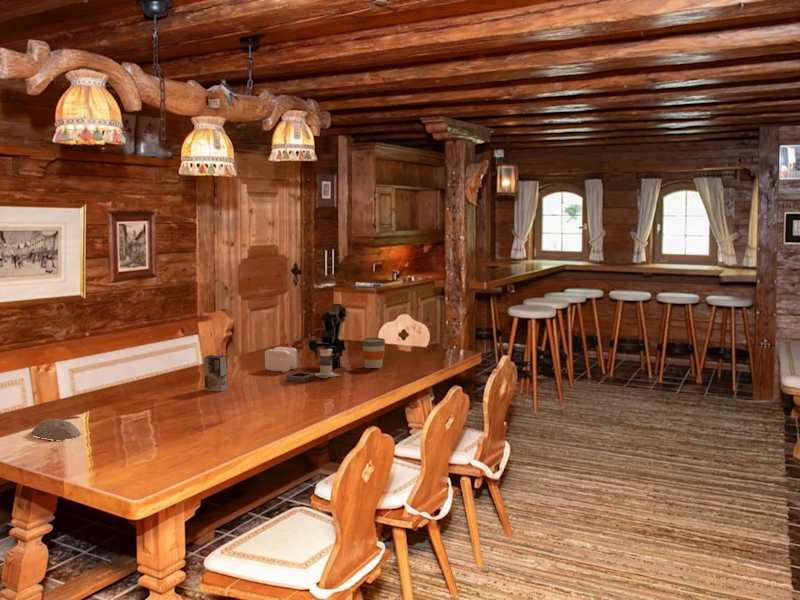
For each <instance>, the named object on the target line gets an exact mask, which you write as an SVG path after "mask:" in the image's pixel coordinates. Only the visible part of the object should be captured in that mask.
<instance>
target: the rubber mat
mask: <svg viewBox="0 0 800 600" xmlns="http://www.w3.org/2000/svg"><path fill="white" fill-rule="evenodd" d="M314 374H315V376H316V377H315V378H318V377H319V378H318V379H320V378H324V379H329V378H328V377H332V378H336V377H335V376H339V377H341V374H338V373H336V372H333V375H329V376H322V375H320V372H316V373H314Z"/></svg>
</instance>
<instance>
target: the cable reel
mask: <svg viewBox="0 0 800 600" xmlns="http://www.w3.org/2000/svg"><path fill="white" fill-rule="evenodd" d="M318 353H319V368H320V369H319V373H320V375H322V376H329V375H333V373H334V372H333V368H332V349H330V348H325V347H324V348H323V347H322V348H318Z"/></svg>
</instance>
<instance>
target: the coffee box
mask: <svg viewBox="0 0 800 600" xmlns="http://www.w3.org/2000/svg"><path fill="white" fill-rule="evenodd" d="M203 369H204V373H203V374H204V391H205V390H207V392H210V391H211V392H224V391H226V390H228V389H229V383H228V381H229V380H228V378H229V376H228V356H227V355H220V354H209V355H207V356H204V357H203Z"/></svg>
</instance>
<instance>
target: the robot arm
mask: <svg viewBox="0 0 800 600" xmlns="http://www.w3.org/2000/svg"><path fill="white" fill-rule="evenodd" d="M347 316H348V311H347V308H346V307H344V306H343V305H342V304H341V303H332V304H331V308H330V310H329V311H326V312H325V313H324V314H323V315H322V316H321V321H322V326H323V330H321V332H320V337H321V339H320V341H321V342H319V341H318V339H310V340H308V347H309V350H310V351H312V352H314V355H315V359H316V360H317V359H318V358H319V357H318V356H319V355H318V354H319V347H321V348H323V347H324V348H330V349H332V369H337V368H338V367H339V368H342V367H343V366H342V365H341V357H343V356H344V355H343V354H344V351H346V350H347V349H346V348H347V345H346V341H345V340H344V339H342V340H341V339H340V334H341V328H342V324H343V323H344V322H345V321H346V319H347ZM339 368H338V369H339Z"/></svg>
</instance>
